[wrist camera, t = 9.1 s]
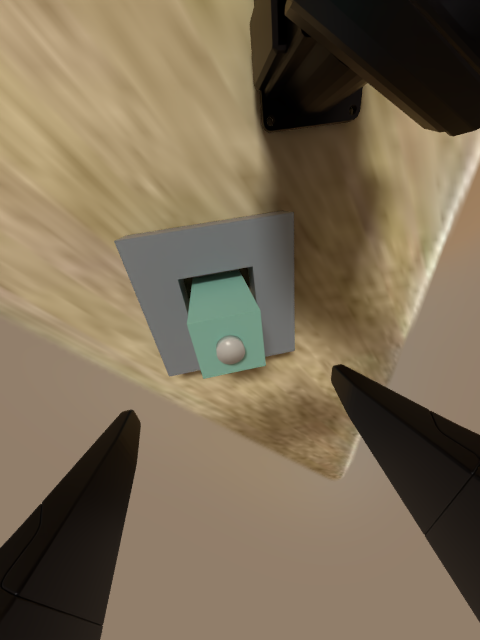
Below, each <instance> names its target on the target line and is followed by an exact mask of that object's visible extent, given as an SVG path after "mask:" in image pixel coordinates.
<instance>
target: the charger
mask: <svg viewBox="0 0 480 640" xmlns="http://www.w3.org/2000/svg"><path fill="white" fill-rule="evenodd" d="M187 327H188V330H189V333H190V336H191V340H192V343H193V346H194V350H195V353H196V356H197V360H198V363H199V366H200V369H201V373H202V376H203V379H205V378H210V377H214V376H219V375H224V374H229V373H233V372H238V371H243V370H248V369H252V368H257V367H262V366H266V363H265V353H264V342H263V332H262V322H261V312H260V309H259V307H258V305H257V303H256V301H255V299H254V297H253V295H252V294H251V292H250V290H249V288H248V286H247V284H246V282H245V280H244V278H243V277H242V275H241V273H240V271H239V270H233V271H228V272H222V273H217V274H211V275H206V276H200V277H194V278H193V280H192V288H191V295H190V303H189V311H188V319H187Z"/></svg>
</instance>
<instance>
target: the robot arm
mask: <svg viewBox="0 0 480 640" xmlns="http://www.w3.org/2000/svg"><path fill="white" fill-rule="evenodd" d="M250 35H251V49H252V63H253V77H254V86H255V88H256V89H257V91H259V90H260V104H261V120H262V127H263V129H264V131H266V132H268V133H271V132H278V131H286V130H293V129H301V128H308V127H316V126H323V125H330V124H338V123H345V122H350V121H352V120H354V119H355V118H356V117H357V116H358V114H359V112H360V106H361V97H362V88H363V86H364V85H365V84H367V83H369V84H370V85H371V86H372V87H374V88H375V89H376V90H377V91H378V92H380V93H381V94H382V95H383V96H385V97H386V98H387V99H388V100H389V101H391V102H392V103H393V104H394V105H396V106H397V107H398V108H399V109H401V110H402V111H403V112H404V113H405V114H407V115H408V116H409V117H410V118H412V119H413V120H414V121H415V122H417V123H418V124H419V125H420V126H421V127H423V128H424V129H428V130H432V131H436V132H446V133H447V134H448V135H450V136H456V135H460V134H464V133H467V132H471V131H475V130H477V129H479V128H480V0H254V9H253V13H252V17H251V21H250ZM350 107H352V109H353V114H352V115H350V113H349V109H350ZM267 118H271V119H272V120H273V125H272V126H269V125H268V124H267ZM331 382H332V384H333V386H334V388H335V390H336V392H337V394H338V396H339V398H340V400H341V402H342V404H343V406H344V408H345V410H346V412H347V414H348V416H349V417H350V419H351V421H352V422H353V424H354V425H355V427H356V429H357V430H358V432H359V433H360V435H361V436H362V438H363V439H364V441H365V443H366V444H367V446H368V447H369V449H370V450H371V452H372V454H373V455H374V457H375V458H376V460H377V461H378V463H379V465H380V466H381V468H382V469H383V471H384V472H385V474H386V476H387V477H388V479H389V480H390V482H391V484H392V485H393V487H394V488H395V490H396V491H397V493H398V494H399V496H400V498H401V499H402V501H403V502H404V504H405V506H406V507H407V509H408V510H409V512H410V513H411V515H412V516H413V518H414V520H415V521H416V523H417V524H418V526H419V527H420V529H421V531H422V532H423V534H425V537H426V539H427V540H428V542H429V543H430V545H431V547H432V548H433V550H434V551H435V553H436V554H437V556H438V558H439V559H440V561H441V562H442V564H443V565H444V567H445V569H446V570H447V572H448V573H449V575H450V576H451V578H452V579H453V581H454V582H455V584H456V586H457V587H458V589H459V590H460V592H461V594H462V595H463V597H464V598H465V600H466V601H467V603H468V605H469V606H470V608H471V609H472V611H473V613H474V614H475V615H476V617H477V619H478V620H479V622H480V435H479V434H477V433H475V432H472V431H470V430H468V429H466V428H464V427H462V426H460V425H458V424H456V423H454V422H452V421H450V420H448V419H446V418H444V417H442V416H440V415H438V414H436V413H434V412H432V411H429V410H428V409H427V408H425V407H423V406H421V405H419V404H417V403H415V402H413V401H411V400H409V399H407V398H406V397H404V396H402V395H400V394H398V393H396V392H394V391H392V390H390V389H388V388H386V387H385V386H383V385H381V384H379V383H377V382H375V381H373V380H371V379H369V378H367V377H365V376H364V375H362V374H360V373H358V372H356V371H354V370H352V369H350V368H348V367H346V366H344V365H342V364H340V365H335V366H333V367H332V375H331ZM140 427H141V424H140V421H139V419H138V417H137V415H136V413H135V412H134V411H133V410H127V411H124V412H122V413H120V415H119V416H118V417H117V418H116V419H115V420H114V422H113V423H112V424H111V425H110V426H109V427H108V428H107V429H106V430H105V432H104V433H103V434H102V435H101V436H100V437H99V438H98V439H97V441H96V442H95V443H94V444H93V445H92V446H91V448H90V449H89V450H88V451H87V452H86V453H85V454H84V455H83V457H82V458H81V459H80V460H79V461H78V462H77V463H76V464H75V466H74V467H73V468H72V469H71V470H70V471H69V472H68V474H66V476H65V477H64V478H63V479H62V480H61V481H60V482H59V484H58V485H57V486H56V487H55V488H54V489H53V490H52V492H51V493H50V494H49V495H48V496H47V497H46V498H45V499H44V501H43V502H42V504H40V505H39V506H38V507H37V508H36V509H35V511H34V512H33V513H32V514H31V515H30V516H29V517H28V518H27V520H26V521H25V522H24V523H23V524H22V525H21V526H20V527H19V528H18V530H17V531H16V532H15V533H14V534H13V535H12V536H11V537H10V538H9V539H8V540H7V541H6V542H5V543H4V545H3V546H2V547H1V548H0V640H100V637H101V633H102V628H103V626H102V625H103V623H104V618H105V613H106V608H107V604H108V599H109V594H110V589H111V584H112V580H113V575H114V570H115V565H116V560H117V556H118V551H119V546H120V541H121V536H122V531H123V527H124V522H125V517H126V513H127V508H128V503H129V499H130V493H131V489H132V484H133V479H134V474H135V470H136V464H137V457H138V447H139V438H140V437H139V436H140Z"/></svg>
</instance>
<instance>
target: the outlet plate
mask: <svg viewBox="0 0 480 640" xmlns="http://www.w3.org/2000/svg"><path fill="white" fill-rule="evenodd" d="M114 242H115V244H116V247H117V249H118V251H119V254H120V256H121V259H122V261H123V264H124V266H125V269H126V271H127V274H128V276H129V279H130V281H131V283H132V286H133V288H134V291H135V293H136V296H137V298H138V301H139V303H140V306H141V308H142V311H143V313H144V315H145V318H146V320H147V323H148V325H149V328H150V330H151V333H152V335H153V338H154V340H155V343H156V345H157V347H158V350H159V352H160V355H161V357H162V360H163V362H164V365H165V367H166V370H167V372H168V375H169V376H174V375H179V374H184V373H189V372H194V371H198V370H201V369H200V366H199V363H198V360H197V356H196V353H195V350H194V346H193V343H192V340H191V336H190V333H189V330H188V327H187V319H188V311H189V303H190V302H189V298H188V295H187V291H186V287H185V284H184V280H183V279H184V278H189V277H195V276H201V275H206V274H212V273H218V272H223V271H229V270H235V269H240V268H246V267H248V273H249V282H250V291H251V294H252V295H253V297H254V299H255V301H256V303H257V305H258V307H259V309H260V312H261V322H262V332H263V342H264V353H265V357H266V356H271V355H276V354H281V353H286V352H291V351H295V317H294V212H289V211H277V212H270V213H264V214H258V215H252V216H246V217H239V218H233V219H227V220H221V221H214V222H208V223H202V224H196V225H189V226H183V227H177V228H171V229H164V230H158V231H152V232H146V233H139V234H133V235H127V236H124V237H122V238H120V239H118V240H115V241H114Z"/></svg>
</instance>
